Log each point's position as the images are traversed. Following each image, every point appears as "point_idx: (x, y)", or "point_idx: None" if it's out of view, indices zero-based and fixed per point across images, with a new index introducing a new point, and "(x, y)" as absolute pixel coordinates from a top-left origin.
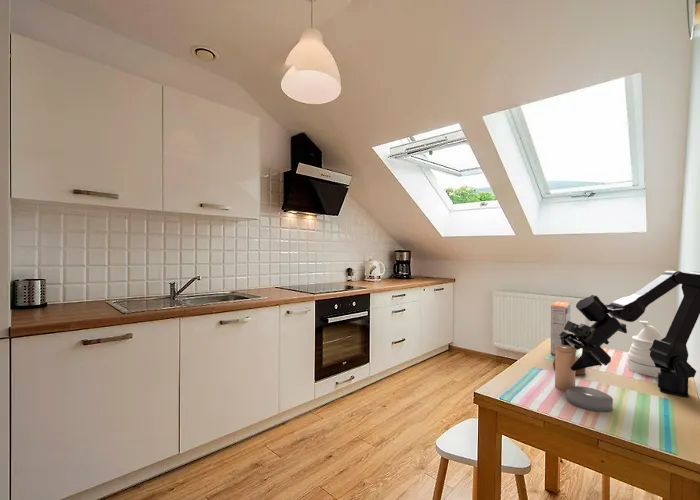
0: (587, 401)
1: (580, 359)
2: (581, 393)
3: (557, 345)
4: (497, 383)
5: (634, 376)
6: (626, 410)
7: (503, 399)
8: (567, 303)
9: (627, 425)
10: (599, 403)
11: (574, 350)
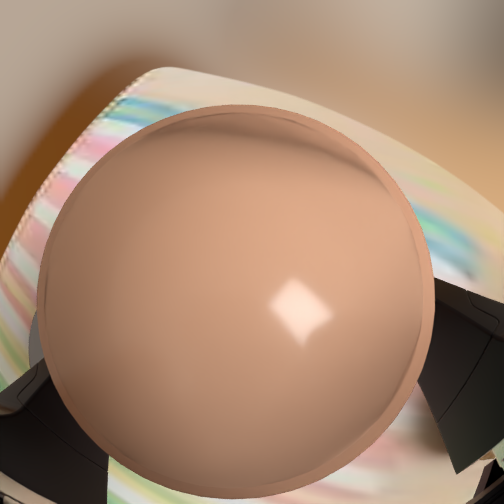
0: (36, 317)
1: (28, 375)
2: None
3: (332, 154)
4: (228, 88)
5: None
6: None
7: (116, 106)
8: None
9: (11, 380)
10: (30, 353)
11: (61, 387)
